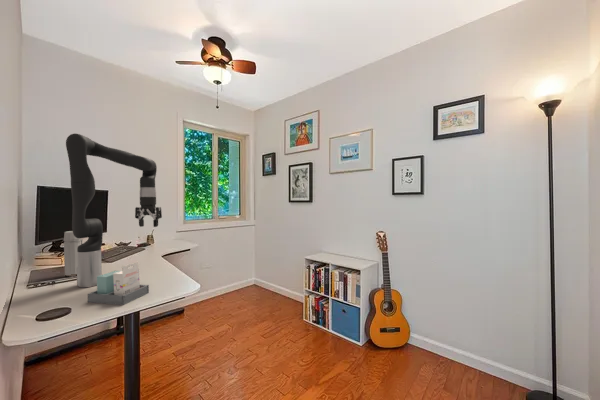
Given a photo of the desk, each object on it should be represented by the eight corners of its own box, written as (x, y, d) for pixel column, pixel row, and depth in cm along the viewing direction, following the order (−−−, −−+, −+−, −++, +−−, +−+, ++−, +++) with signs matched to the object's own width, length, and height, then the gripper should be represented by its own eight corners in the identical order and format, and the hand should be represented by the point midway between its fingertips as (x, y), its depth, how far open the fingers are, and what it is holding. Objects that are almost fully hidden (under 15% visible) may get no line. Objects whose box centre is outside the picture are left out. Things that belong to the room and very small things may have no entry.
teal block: (97, 300, 108) (96, 276, 108) (115, 292, 116) (115, 270, 116) (106, 300, 107) (106, 277, 107) (124, 293, 115) (123, 271, 115)
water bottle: (67, 278, 140) (65, 232, 140) (62, 276, 144) (61, 231, 144) (87, 274, 148) (86, 230, 147) (82, 272, 152) (81, 230, 152)
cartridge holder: (87, 303, 106) (87, 293, 106) (116, 291, 119) (116, 283, 119) (123, 306, 103) (123, 296, 103) (148, 293, 115) (148, 285, 115)
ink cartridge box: (130, 293, 115) (130, 260, 114) (140, 294, 114) (139, 261, 113) (113, 301, 106) (112, 266, 106) (123, 302, 105) (122, 266, 105)
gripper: (130, 196, 134) (131, 227, 134) (154, 196, 131) (155, 227, 131) (142, 196, 141) (142, 225, 141) (164, 195, 138) (165, 225, 138)
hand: (148, 226), depth 136 cm, fingers open, 8 cm apart
